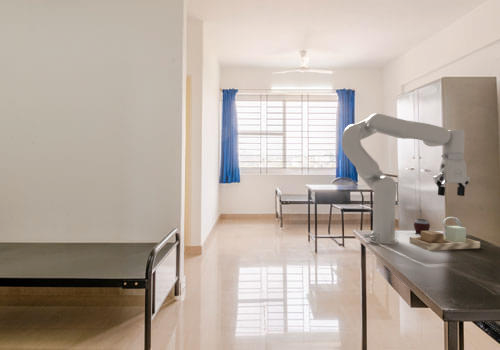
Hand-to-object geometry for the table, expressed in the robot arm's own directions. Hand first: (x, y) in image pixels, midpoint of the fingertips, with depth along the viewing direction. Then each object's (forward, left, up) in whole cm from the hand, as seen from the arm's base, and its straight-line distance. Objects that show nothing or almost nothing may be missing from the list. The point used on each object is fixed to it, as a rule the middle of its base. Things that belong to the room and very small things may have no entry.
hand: (451, 195), depth 125 cm
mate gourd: (+2, +20, -23) cm, 31 cm away
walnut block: (-11, -2, -22) cm, 24 cm away
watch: (+11, +10, -23) cm, 28 cm away
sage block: (+1, -2, -22) cm, 22 cm away
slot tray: (-5, -2, -23) cm, 23 cm away
